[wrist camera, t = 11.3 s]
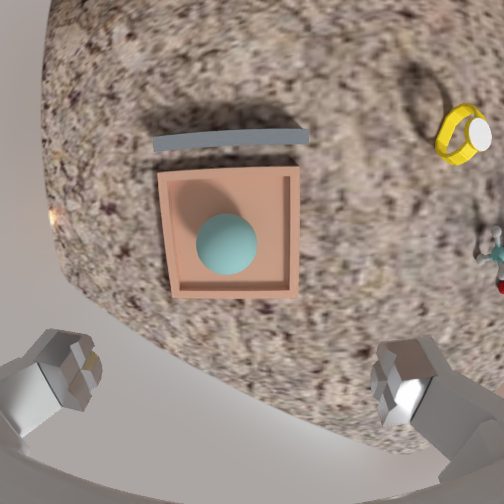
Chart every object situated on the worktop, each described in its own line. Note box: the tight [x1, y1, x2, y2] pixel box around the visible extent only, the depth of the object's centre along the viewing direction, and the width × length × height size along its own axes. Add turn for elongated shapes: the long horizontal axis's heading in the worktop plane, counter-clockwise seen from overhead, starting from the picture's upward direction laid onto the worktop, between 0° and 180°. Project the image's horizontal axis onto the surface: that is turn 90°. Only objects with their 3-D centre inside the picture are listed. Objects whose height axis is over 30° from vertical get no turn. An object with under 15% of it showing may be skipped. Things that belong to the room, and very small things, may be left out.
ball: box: [196, 213, 257, 275], centre depth 26 cm, size 5×5×5 cm
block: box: [153, 129, 309, 152], centre depth 24 cm, size 1×12×3 cm, turn 92°
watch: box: [435, 103, 492, 165], centre depth 21 cm, size 6×3×6 cm, turn 155°
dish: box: [157, 165, 300, 299], centre depth 28 cm, size 12×12×1 cm
